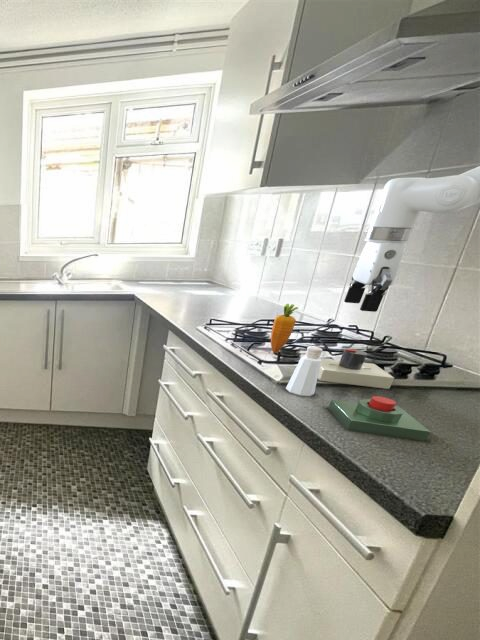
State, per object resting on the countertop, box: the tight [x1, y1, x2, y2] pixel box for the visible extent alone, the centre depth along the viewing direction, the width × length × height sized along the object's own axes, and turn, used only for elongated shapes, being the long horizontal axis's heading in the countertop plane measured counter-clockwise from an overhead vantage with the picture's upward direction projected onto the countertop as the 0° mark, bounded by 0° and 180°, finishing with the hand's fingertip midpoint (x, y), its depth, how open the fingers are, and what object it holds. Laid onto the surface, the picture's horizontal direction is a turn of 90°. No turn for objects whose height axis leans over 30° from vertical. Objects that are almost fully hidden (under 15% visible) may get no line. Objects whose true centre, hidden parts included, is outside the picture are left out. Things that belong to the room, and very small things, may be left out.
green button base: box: [327, 398, 431, 442], centre depth 84 cm, size 12×10×4 cm
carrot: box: [270, 303, 299, 354], centre depth 120 cm, size 5×5×15 cm
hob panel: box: [317, 357, 395, 390], centre depth 106 cm, size 14×10×3 cm
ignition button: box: [369, 395, 397, 411], centre depth 83 cm, size 4×4×2 cm
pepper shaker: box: [285, 345, 323, 397], centre depth 96 cm, size 5×5×11 cm
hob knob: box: [339, 348, 368, 370], centre depth 105 cm, size 4×4×4 cm
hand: (359, 306), depth 106 cm, fingers open, 9 cm apart
